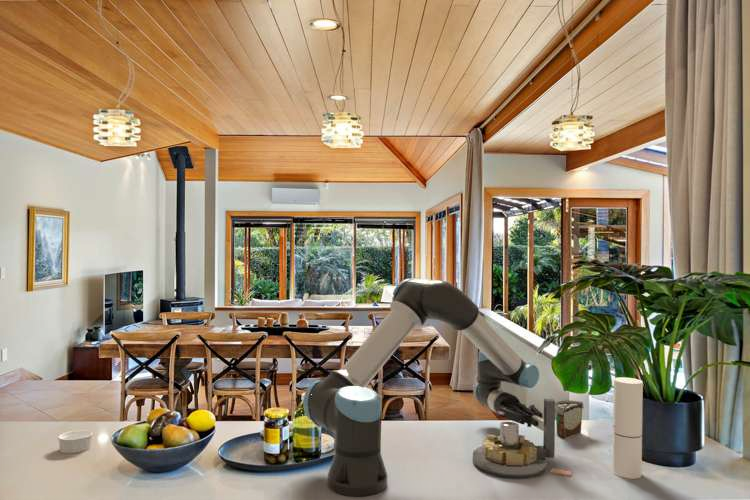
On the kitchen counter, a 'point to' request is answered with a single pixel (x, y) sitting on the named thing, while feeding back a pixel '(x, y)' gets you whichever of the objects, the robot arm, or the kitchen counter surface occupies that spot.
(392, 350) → the robot arm
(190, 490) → the kitchen counter surface
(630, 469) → the cylindrical container
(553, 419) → the geared hub with post
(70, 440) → the ramekin
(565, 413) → the food container
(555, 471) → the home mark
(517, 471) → the flange
